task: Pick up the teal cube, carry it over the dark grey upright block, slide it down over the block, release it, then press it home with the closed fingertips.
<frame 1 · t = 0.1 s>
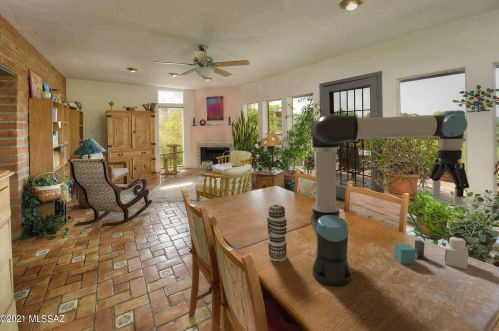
hand: (445, 199, 102), 28 cm above the table, fingers open, 13 cm apart
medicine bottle: (455, 263, 104), on the table
dark grey upright block: (418, 256, 111), on the table
teal cube: (404, 260, 108), on the table
model tower building: (277, 257, 115), on the table
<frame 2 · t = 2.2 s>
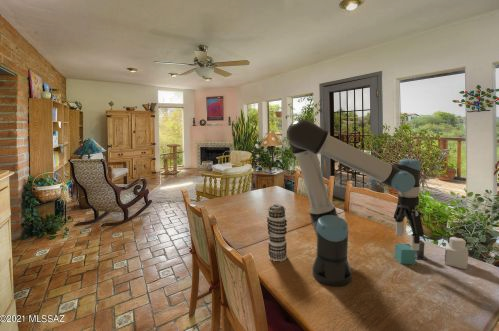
hand: (406, 242, 106), 9 cm above the table, fingers open, 13 cm apart
nothing on the table moved.
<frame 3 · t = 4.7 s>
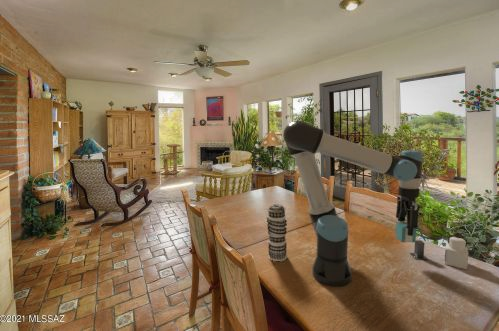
hand: (404, 238, 106), 10 cm above the table, fingers closed on teal cube, 6 cm apart
teal cube: (405, 239, 106), point 10 cm above the table, touching gripper
everything else where it was.
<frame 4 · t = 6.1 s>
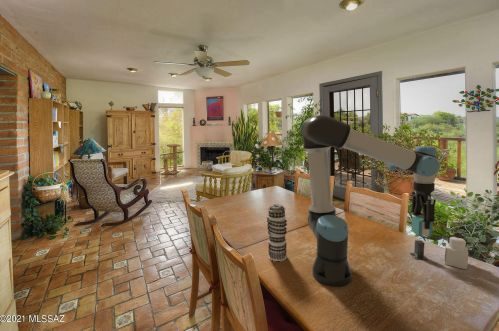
hand: (421, 232, 109), 12 cm above the table, fingers closed on teal cube, 6 cm apart
teal cube: (421, 232, 109), point 11 cm above the table, touching gripper
everything else where it was.
when the fingers open (2 cm above the table, at t = 8.1 s): teal cube stays where it is, resting on dark grey upright block.
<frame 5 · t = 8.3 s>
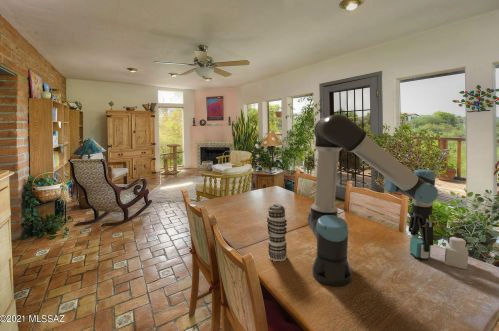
hand: (419, 252, 110), 2 cm above the table, fingers open, 8 cm apart
teal cube: (419, 254, 111), point 1 cm above the table, touching dark grey upright block
everything else where it was.
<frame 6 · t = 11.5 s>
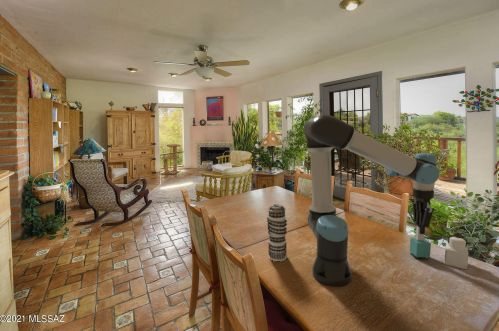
hand: (419, 239, 110), 8 cm above the table, fingers closed
nothing on the table moved.
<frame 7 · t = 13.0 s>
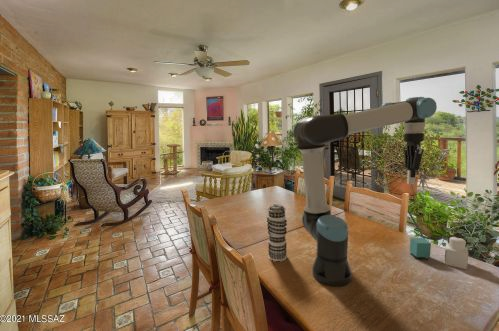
hand: (410, 183, 113), 32 cm above the table, fingers closed
nothing on the table moved.
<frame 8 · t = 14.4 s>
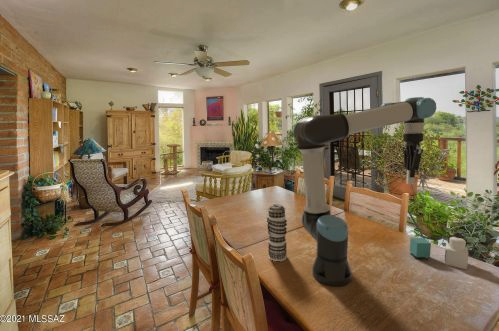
hand: (410, 183, 113), 32 cm above the table, fingers closed
nothing on the table moved.
at the end: teal cube 0.2 cm from the dark grey upright block (horizontally); teal cube point 1.2 cm above the table; the gripper is holding nothing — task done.
